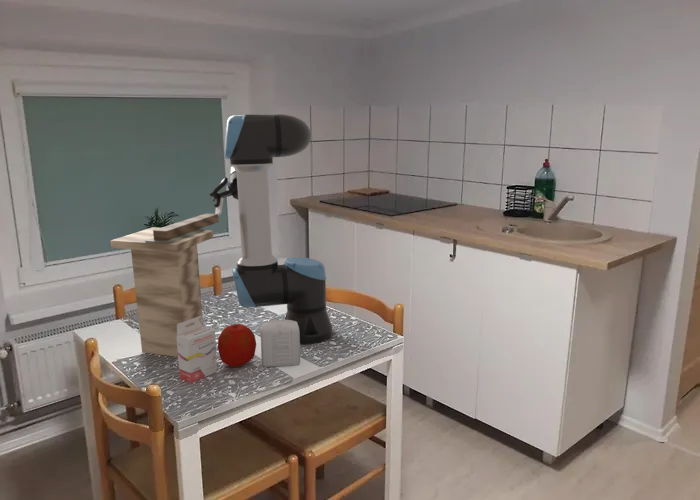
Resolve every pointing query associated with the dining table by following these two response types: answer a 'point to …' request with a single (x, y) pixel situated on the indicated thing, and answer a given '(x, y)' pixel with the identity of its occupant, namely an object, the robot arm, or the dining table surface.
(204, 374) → the ink cartridge box
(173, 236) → the walnut strip
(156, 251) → the oak stand
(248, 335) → the apple
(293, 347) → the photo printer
